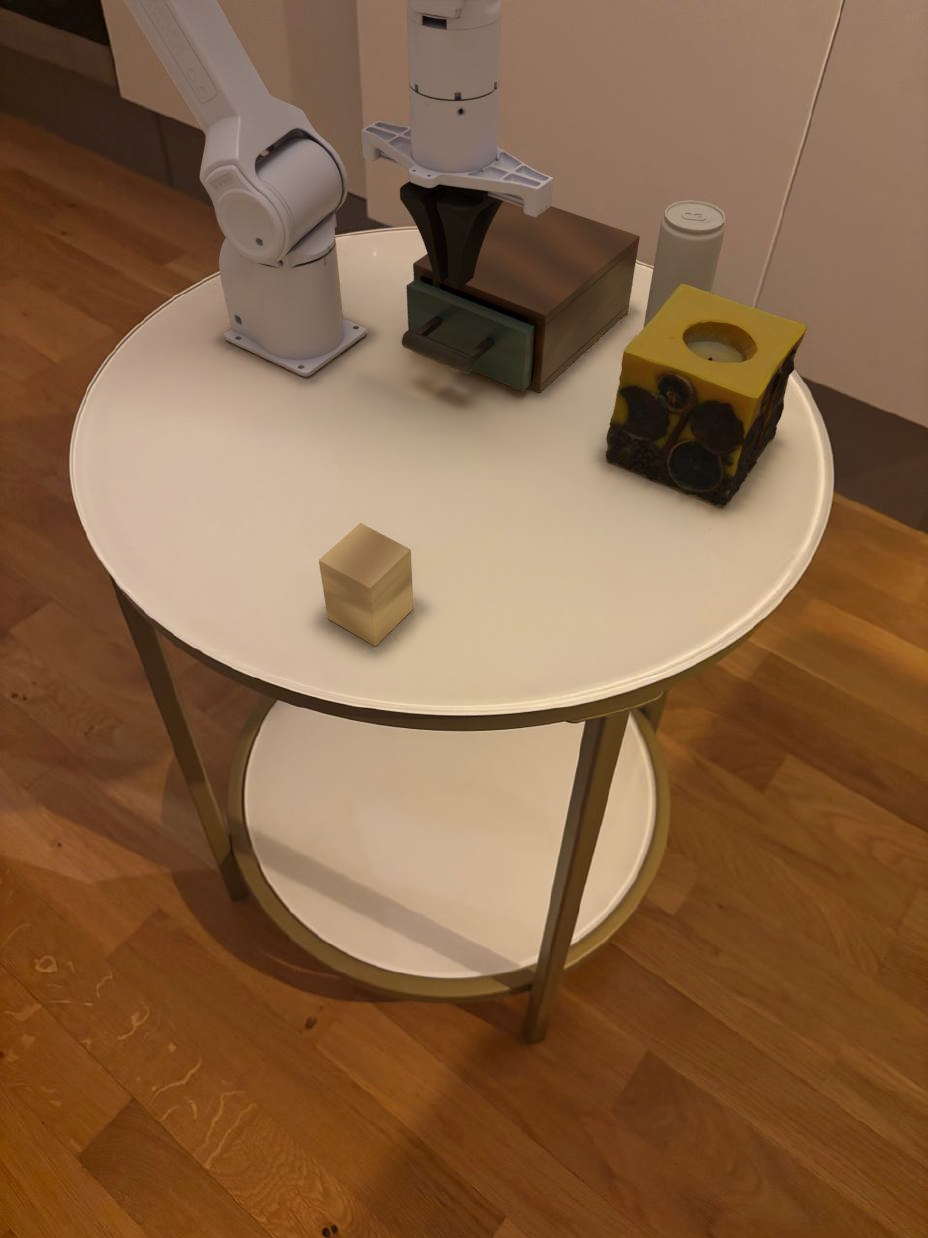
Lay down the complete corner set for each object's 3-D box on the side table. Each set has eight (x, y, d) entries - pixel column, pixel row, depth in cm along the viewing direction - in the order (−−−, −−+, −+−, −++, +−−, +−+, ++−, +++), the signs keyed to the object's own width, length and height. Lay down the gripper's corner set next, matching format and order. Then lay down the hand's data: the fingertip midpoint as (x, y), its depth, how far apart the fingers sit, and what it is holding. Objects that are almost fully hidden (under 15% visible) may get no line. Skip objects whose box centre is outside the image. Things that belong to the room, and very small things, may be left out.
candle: (657, 392, 79) (679, 279, 71) (776, 435, 75) (813, 322, 68) (599, 461, 73) (616, 347, 66) (725, 512, 70) (758, 397, 62)
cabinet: (539, 393, 79) (546, 315, 73) (415, 340, 83) (412, 263, 78) (628, 311, 86) (640, 235, 81) (510, 267, 91) (513, 192, 86)
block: (327, 618, 63) (318, 559, 59) (366, 581, 65) (360, 522, 61) (375, 647, 61) (369, 588, 57) (414, 608, 64) (411, 549, 59)
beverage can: (695, 371, 81) (726, 233, 71) (637, 364, 81) (660, 226, 72) (698, 338, 84) (728, 202, 75) (642, 332, 84) (665, 196, 75)
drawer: (492, 418, 75) (495, 360, 71) (376, 366, 79) (372, 308, 75) (608, 314, 84) (615, 257, 80) (498, 273, 89) (501, 217, 85)
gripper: (325, 75, 62) (343, 270, 73) (514, 134, 57) (505, 336, 67) (393, 41, 66) (401, 232, 76) (577, 94, 61) (559, 291, 71)
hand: (454, 278), depth 72 cm, fingers closed
